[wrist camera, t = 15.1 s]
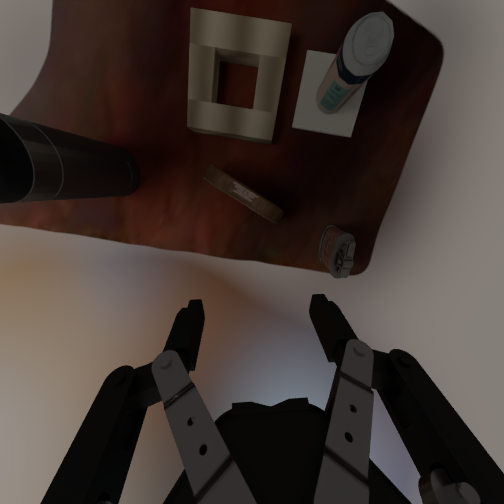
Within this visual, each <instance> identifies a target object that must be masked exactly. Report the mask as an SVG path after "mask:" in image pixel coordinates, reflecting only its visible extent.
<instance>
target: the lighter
mask: <svg viewBox="0 0 504 504" xmlns="http://www.w3.org/2000/svg"><path fill="white" fill-rule="evenodd" d="M354 241H355V239H354V236H353V235H351V234H349V233H346V232H343V231H342V230H340V229H338V227H336V226H334V225H328V226H326V227H325V228H324V231H323V233H322V236H321V240H320V244H319V259H320V261H321V262H322V263H324V264H325V266H326V267H327V268H328V269H329V271H330V274H331V275H332V276H333V277H334V278H346V277H348V274H349V270H350V269H351V268H352V267H353V265H354V261H353V254H354V250H355V246H356V242H354Z"/></svg>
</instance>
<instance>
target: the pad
mask: <svg viewBox="0 0 504 504" xmlns="http://www.w3.org/2000/svg"><path fill="white" fill-rule="evenodd" d="M335 56H336V54H329V53H323V52H317V51H311V50H308V51H307V55H306V60H305V65H304V70H303V75H302V80H301V85H300V90H299V95H298V100H297V105H296V110H295V115H294V120H293V125H292V128H295V129H301V130H307V131H313V132H319V133H325V134H331V135H337V136H343V137H351V134H352V131H353V128H354V124H355V121H356V118H357V114H358V111H359V108H360V104H361V101H362V98H363V94H364V91H365V87H366V84H367V81H368V80H367V81H366V82H365V83H364V84H363V85H362V87H361V88H360V89H359V90H358V91H357V92H356V93H355V94H354V95H353V96H352V97H351V98H350V99H349V100H348V101H347V102H346V103H345V105H344V106H343V107H342V108H341V109H340V110H339V111H337V112H335V113H332V114H326V113H324V112H322V111H321V110H320V109H319V107H318V105H317V102H316V95H317V91H318V88H319V86H320V84H321V83H322V81H323V79H324V77H325V75H326V73H327V71H328V69H329V68H330V66H331V64H332V62H333V60H334V58H335Z"/></svg>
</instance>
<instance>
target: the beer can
mask: <svg viewBox="0 0 504 504" xmlns="http://www.w3.org/2000/svg"><path fill="white" fill-rule="evenodd" d="M393 38H394V33H393V22H392V20H391V19H390V18H389V17H388V16H387V15H386V14H385V13H384V12H376V13H369V14H368V15H366V16H364V17H362V18H361V19H359V20H358V21H357V22H356V23H355V24H354V25H353V26H352V27H351V29H350V30H349V32H348V34H347V36H346V37H345V39H344V41H343V43H342V45H341V47H340V49H339V51H338V52H337V54H336V56H335V58H334V60H333V62H332V64H331V66H330V68H329V69H328V71H327V73H326V75H325V77H324V79H323V81H322V83H321V84H320V86H319V88H318V91H317V95H316V102H317V105H318V107H319V109H320V110H321V111H322V112H324V113H326V114H332V113H335V112H337V111H339V110H340V109H341V108H342V107H343V106H344V105H345V103H346V102H347V101H348V100H349V99H350V98H351V97H352V96H353V95H354V94H355V93H356V92H357V91H358V90H359V89H360V88H361V87H362V85H363V84H364V83H365V82H366V81H367V80H368V79H369V78H370V77H371V76H372V75H373V74H374V73H375V72H376V71H377V70H378V69H379V68H380V67H381V66H382V64H383V63H384V62H385V60H386V59H387V57H388V55H389V52H390V49H391V45H392V41H393Z"/></svg>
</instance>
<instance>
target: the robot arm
mask: <svg viewBox="0 0 504 504" xmlns="http://www.w3.org/2000/svg"><path fill="white" fill-rule="evenodd" d="M138 181H139V174H138V169H137V166H136V164H135V162H134V160H133V159H132V157H131V156H130V155H129V154H128V153H127V152H126V151H125V150H123V149H122V148H120V147H117V146H114V145H111V144H107V143H104V142H100V141H97V140H94V139H90V138H87V137H83V136H79V135H76V134H72V133H69V132H65V131H62V130H58V129H55V128H51V127H48V126H44V125H41V124H37V123H34V122H30V121H27V120H23V119H20V118H16V117H12V116H9V115H5V114H2V113H0V203H16V202H34V201H50V200H68V199H86V198H104V197H122V196H127V195H130V194H131V193H133V191H134V190H135V189H136V187H137V185H138ZM309 314H310V318H311V320H312V323H313V325H314V328H315V330H316V332H317V335H318V337H319V340H320V342H321V344H322V347H323V349H324V352H325V354H326V357H327V359H328V361H329V362H335V363H336V365H337V368H336V372H335V375H334V379H333V383H332V387H331V392H330V395H329V398H328V402H327V405H326V408H325V411H323V410H322V409H320V408H319V407H317V406H315V405H312V404H309V402H308V398H295V399H288V400H285V401H283V402H281V403H278V404H276V405H274V406H266V405H262V404H258V403H254V402H240V403H232V409H231V410H229V411H227V412H225V413H223V414H222V415H221V416H220V417H219V418H218V419H217V420H216V421H215V422H214V421H213V419H212V417H211V416H210V413H209V412H208V410H207V408H206V406H205V404H204V402H203V400H202V398H201V396H200V394H199V392H198V390H197V388H196V386H195V385H194V383H193V382H192V381H191V379H190V377H189V371H195V367H196V362H197V356H198V352H199V346H200V341H201V337H202V332H203V327H204V321H205V315H204V310H203V304H202V300H201V299H197V300H190V301H189V304H188V307H187V308H182V309H181V310H180V311H179V312H178V313H177V316H176V318H175V321H174V323H173V326H172V329H171V331H170V334H169V337H168V340H167V342H166V345H165V347H164V350H163V352H162V353H161V354H159V355H158V356H157V357H156V358H155V360H154V361H153V362H151V363H149V364H147V365H144V366H141V367H138V368H136V369H133V367H131V366H128V365H126V366H121V367H119V368H117V369H115V370H114V371H113V372H111V373H110V374H109V375H108V376H107V378H106V379H105V381H104V383H103V385H102V386H101V388H100V391H99V392H98V394H97V396H96V398H95V400H94V402H93V404H92V406H91V408H90V410H89V412H88V413H87V415H86V417H85V419H84V421H83V423H82V425H81V427H80V429H79V431H78V433H77V434H76V437H75V438H74V440H73V442H72V444H71V446H70V448H69V450H68V452H67V454H66V456H65V457H64V459H63V461H62V463H61V465H60V467H59V469H58V471H57V473H56V475H55V477H54V479H53V480H52V482H51V484H50V486H49V488H48V490H47V492H46V494H45V496H44V498H43V500H42V502H41V504H118V503H119V500H120V497H121V494H122V490H123V487H124V484H125V480H126V477H127V474H128V470H129V467H130V464H131V460H132V457H133V454H134V451H135V447H136V444H137V441H138V437H139V434H140V431H141V427H142V424H143V421H144V418H145V414H146V411H147V408H148V406H151V405H153V404H155V403H157V402H160V401H163V404H164V410H165V413H166V416H167V419H168V422H169V425H170V428H171V430H172V433H173V436H174V439H175V442H176V445H177V448H178V450H179V453H180V456H181V459H182V462H183V464H184V468H185V469H184V470H183V472H182V474H181V475H180V477H179V478H178V480H177V482H176V483H175V485H174V487H173V488H172V490H171V491H170V493H169V494H168V496H167V498H166V499H165V501H164V503H163V504H411V502H410V501H409V500H408V499H407V498H406V497H405V496H404V495H403V494H402V493H401V492H400V491H399V490H398V488H397V487H396V486H395V485H394V484H393V483H392V482H391V481H390V480H389V479H388V478H387V477H386V476H385V475H384V473H383V472H382V471H381V470H380V469H379V468H378V467H377V466H376V465H375V464H374V463H373V461H372V460H371V459H370V458H369V453H370V440H371V426H372V413H373V401H374V393H373V391H372V390H371V388H373V389H376V390H377V392H378V393H379V395H380V397H381V400H382V401H383V403H384V405H385V407H386V409H387V411H388V413H389V415H390V417H391V419H392V421H393V423H394V425H395V427H396V429H397V431H398V433H399V434H400V437H401V438H402V441H403V443H404V444H405V446H406V448H407V450H408V452H409V454H410V456H411V458H412V460H413V462H414V464H415V466H416V468H417V470H418V472H419V474H420V476H421V477H420V479H419V482H418V483H419V484H418V487H419V492H420V496H421V498H422V502H423V504H504V474H503V472H502V471H501V469H500V468H499V467H498V466H497V464H496V463H495V462H494V460H493V459H492V458H491V457H490V455H489V454H488V453H487V451H486V450H485V449H484V447H483V446H482V445H481V443H480V442H479V441H478V440H477V438H476V437H475V436H474V435H473V433H472V432H471V430H470V429H469V428H468V427H467V425H466V424H465V423H464V421H463V420H462V419H461V417H460V416H459V415H458V414H457V412H456V411H455V410H454V408H453V407H452V406H451V404H450V403H449V402H448V401H447V399H446V398H445V397H444V395H443V394H442V393H441V391H440V390H439V389H438V387H437V386H436V385H435V384H434V382H433V381H432V380H431V378H430V377H429V376H428V374H427V373H426V372H425V371H424V369H423V368H422V367H421V365H420V364H419V363H418V361H417V360H416V359H415V358H414V357H413V356H412V355H410V354H409V353H407V352H405V351H403V350H400V349H393V350H391V351H390V352H389V353H385V352H380V351H376V350H373V349H371V348H370V347H369V346H368V345H367V344H366V343H364V342H362V341H360V340H359V339H358V338H357V336H356V335H355V333H354V331H353V330H352V328H351V327H350V325H349V323H348V321H347V320H346V319H345V317H344V315H343V314H342V312H341V310H340V309H339V307H338V306H337V305H336V304H335V303H334V302H333V301H328V300H327V298H326V297H325V295H324V294H314V295H312V299H311V303H310V308H309Z"/></svg>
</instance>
